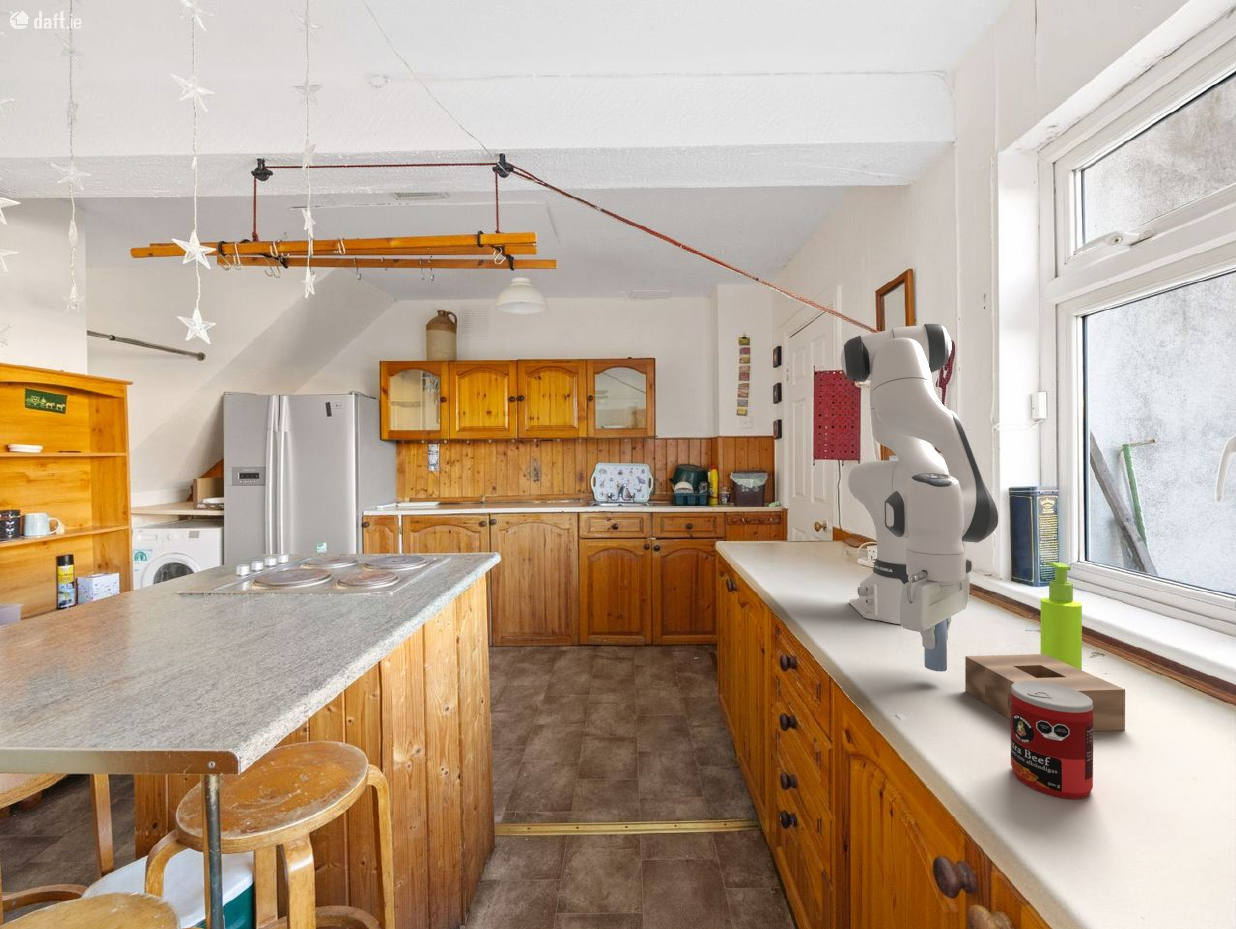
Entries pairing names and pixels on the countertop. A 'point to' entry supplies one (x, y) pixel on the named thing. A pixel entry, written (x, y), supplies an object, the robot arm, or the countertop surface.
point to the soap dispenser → (1061, 620)
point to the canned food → (1052, 738)
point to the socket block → (999, 672)
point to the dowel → (938, 649)
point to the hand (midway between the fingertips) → (935, 644)
